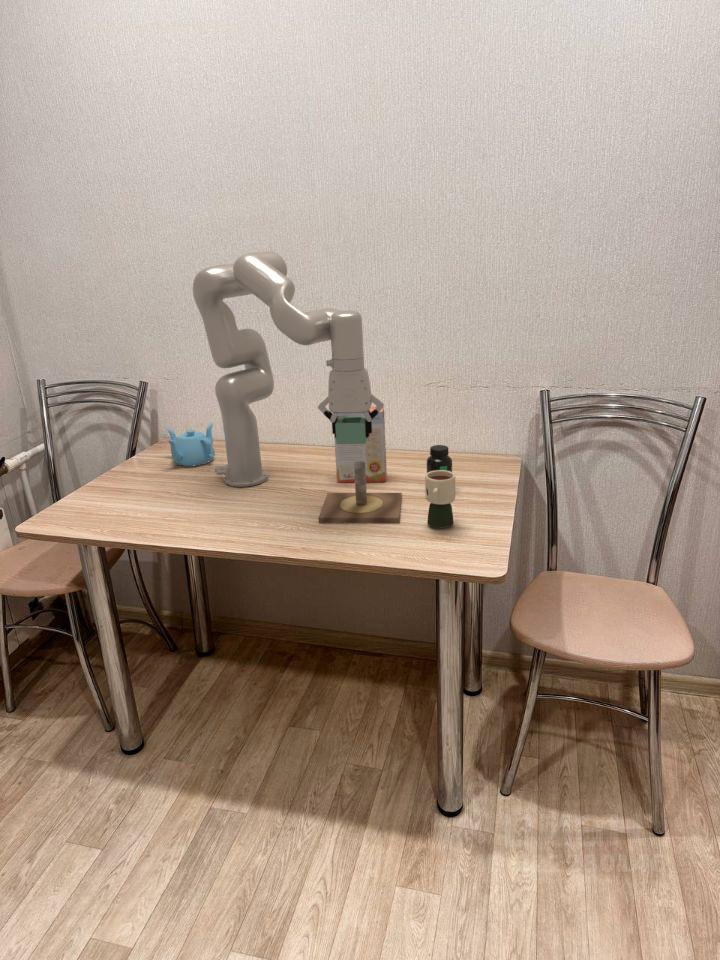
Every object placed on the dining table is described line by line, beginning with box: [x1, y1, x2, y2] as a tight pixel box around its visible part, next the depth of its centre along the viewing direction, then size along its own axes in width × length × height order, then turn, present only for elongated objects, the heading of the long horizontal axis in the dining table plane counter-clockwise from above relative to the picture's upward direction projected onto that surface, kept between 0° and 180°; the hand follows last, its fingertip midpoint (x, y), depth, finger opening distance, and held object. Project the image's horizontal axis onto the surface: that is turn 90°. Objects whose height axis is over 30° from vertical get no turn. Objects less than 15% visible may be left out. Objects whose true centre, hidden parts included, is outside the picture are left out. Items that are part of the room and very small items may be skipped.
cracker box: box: [333, 405, 388, 483], centre depth 195 cm, size 14×6×21 cm, turn 84°
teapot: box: [165, 422, 216, 467], centre depth 218 cm, size 15×15×10 cm
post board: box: [318, 461, 403, 524], centre depth 176 cm, size 20×16×13 cm
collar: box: [335, 416, 367, 444], centre depth 170 cm, size 7×7×5 cm
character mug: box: [424, 470, 456, 529], centre depth 165 cm, size 11×7×13 cm, turn 159°
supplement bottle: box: [426, 444, 453, 473], centre depth 187 cm, size 7×7×12 cm
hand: (352, 435), depth 171 cm, fingers closed on collar, 7 cm apart
